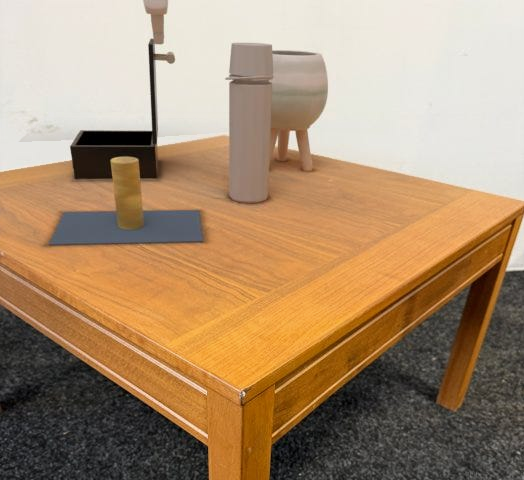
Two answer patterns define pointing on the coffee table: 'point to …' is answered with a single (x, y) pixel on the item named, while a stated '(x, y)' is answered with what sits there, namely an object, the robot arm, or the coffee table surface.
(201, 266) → the coffee table surface
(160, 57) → the black box lid
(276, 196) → the coffee table surface
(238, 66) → the water bottle
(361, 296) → the coffee table surface
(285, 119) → the planter
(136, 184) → the yellow cylinder
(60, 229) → the mat
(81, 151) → the box
